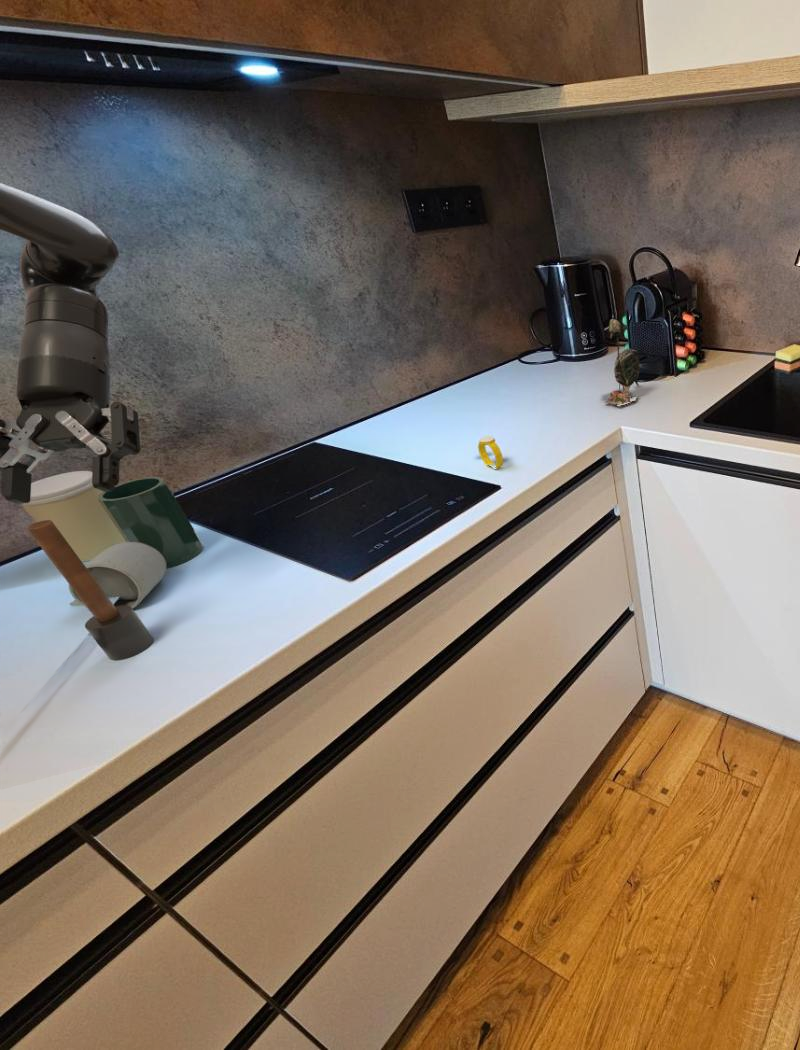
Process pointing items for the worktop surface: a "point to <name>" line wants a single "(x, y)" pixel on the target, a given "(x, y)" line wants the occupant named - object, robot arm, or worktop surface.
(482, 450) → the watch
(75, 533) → the coffee cup
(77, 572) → the mallet
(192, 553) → the green patterned cylindrical cup
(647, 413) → the worktop surface
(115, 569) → the ceramic mug
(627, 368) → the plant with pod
